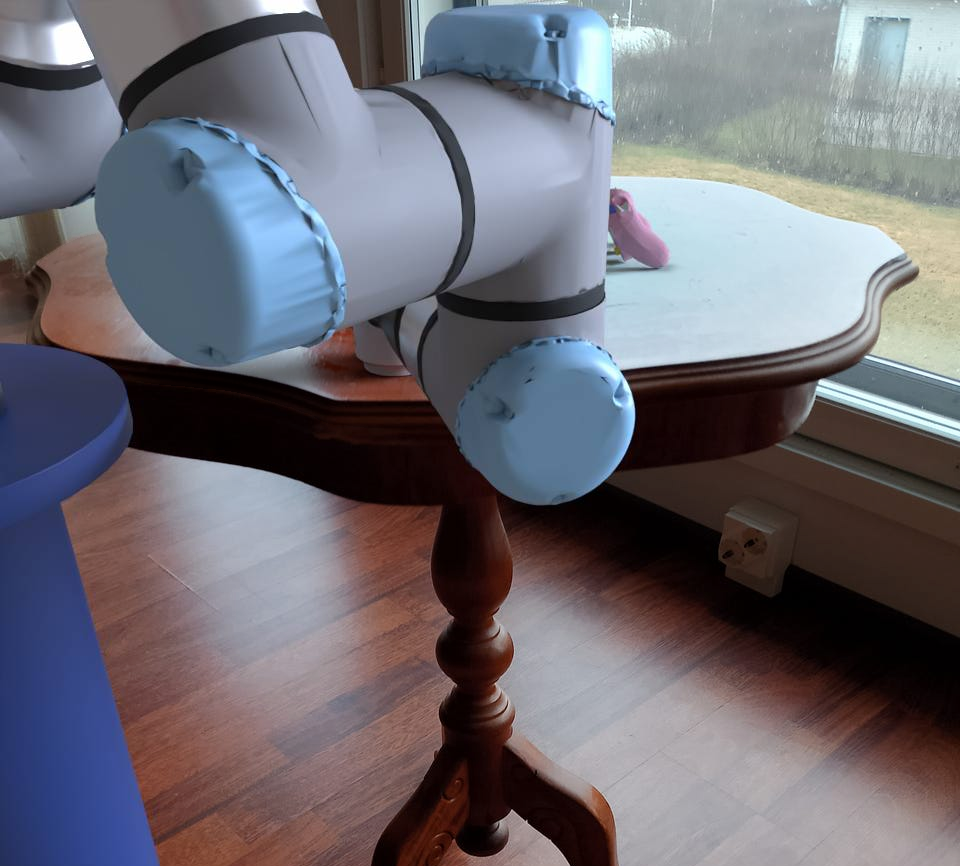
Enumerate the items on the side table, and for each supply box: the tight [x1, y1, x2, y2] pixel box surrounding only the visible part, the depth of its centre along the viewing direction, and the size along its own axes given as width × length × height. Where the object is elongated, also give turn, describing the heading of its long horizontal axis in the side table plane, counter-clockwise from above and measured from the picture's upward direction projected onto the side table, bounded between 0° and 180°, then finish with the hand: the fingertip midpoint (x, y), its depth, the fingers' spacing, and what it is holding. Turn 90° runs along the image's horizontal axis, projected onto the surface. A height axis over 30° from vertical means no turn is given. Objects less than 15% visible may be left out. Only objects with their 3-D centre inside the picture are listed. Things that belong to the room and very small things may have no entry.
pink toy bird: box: [608, 187, 671, 269], centre depth 97 cm, size 10×5×7 cm, turn 3°
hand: (374, 231), depth 76 cm, fingers closed on energy drink can, 6 cm apart
